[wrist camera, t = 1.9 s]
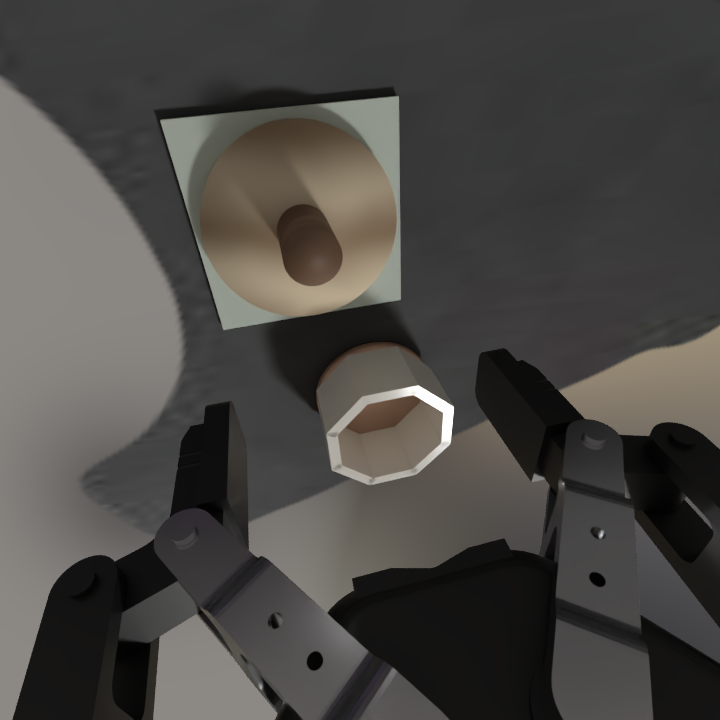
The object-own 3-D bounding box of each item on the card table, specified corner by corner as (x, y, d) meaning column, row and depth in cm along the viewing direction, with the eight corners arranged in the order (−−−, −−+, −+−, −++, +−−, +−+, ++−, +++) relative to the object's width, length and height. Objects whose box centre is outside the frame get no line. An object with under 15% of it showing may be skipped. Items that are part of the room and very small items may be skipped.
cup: (308, 353, 33) (319, 403, 29) (428, 331, 35) (457, 376, 30) (323, 440, 39) (334, 494, 34) (425, 418, 41) (449, 467, 36)
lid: (173, 129, 23) (157, 148, 18) (390, 107, 24) (422, 119, 20) (229, 322, 30) (226, 368, 26) (394, 294, 32) (418, 333, 27)
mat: (161, 119, 23) (160, 120, 22) (396, 95, 25) (398, 96, 24) (223, 327, 30) (223, 330, 30) (399, 297, 32) (400, 299, 32)
